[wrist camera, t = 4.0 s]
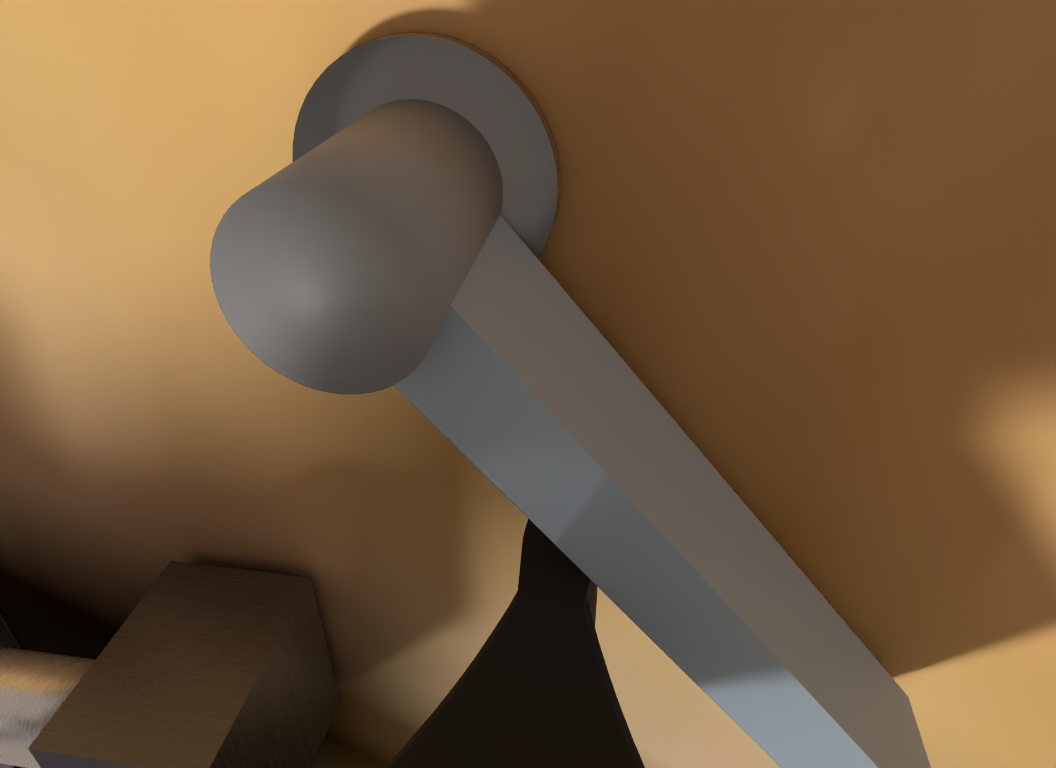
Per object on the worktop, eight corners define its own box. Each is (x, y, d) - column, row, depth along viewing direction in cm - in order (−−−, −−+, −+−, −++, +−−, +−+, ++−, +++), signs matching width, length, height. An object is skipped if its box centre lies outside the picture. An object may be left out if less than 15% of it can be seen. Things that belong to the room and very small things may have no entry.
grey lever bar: (935, 689, 13) (1007, 891, 10) (822, 721, 14) (861, 914, 11) (420, 59, 9) (308, 125, 6) (307, 172, 10) (166, 273, 7)
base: (558, 305, 11) (555, 314, 10) (324, 290, 11) (316, 299, 11) (563, 34, 9) (559, 37, 8) (278, 30, 9) (268, 33, 9)
